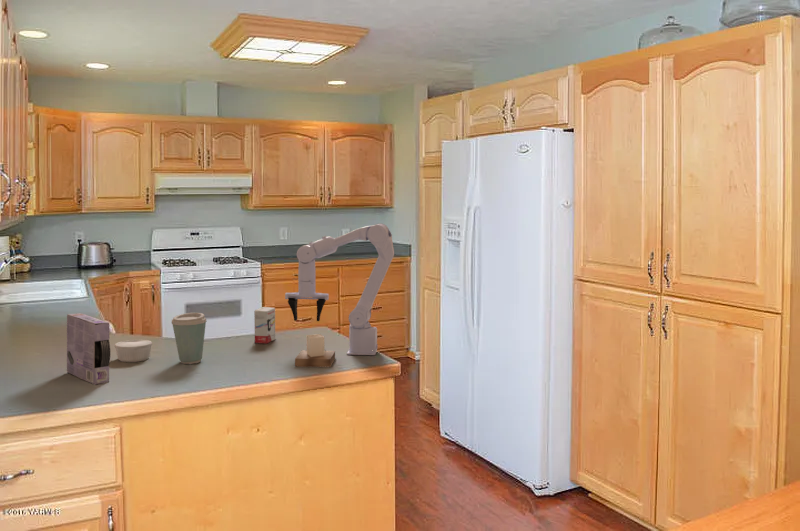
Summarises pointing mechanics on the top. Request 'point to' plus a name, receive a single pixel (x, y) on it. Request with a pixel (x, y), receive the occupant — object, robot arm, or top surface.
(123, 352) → the ramekin
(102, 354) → the cake pan box
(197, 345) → the disposable coffee cup
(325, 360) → the walnut block
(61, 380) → the top surface
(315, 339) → the cream block
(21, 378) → the top surface
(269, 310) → the ink box
